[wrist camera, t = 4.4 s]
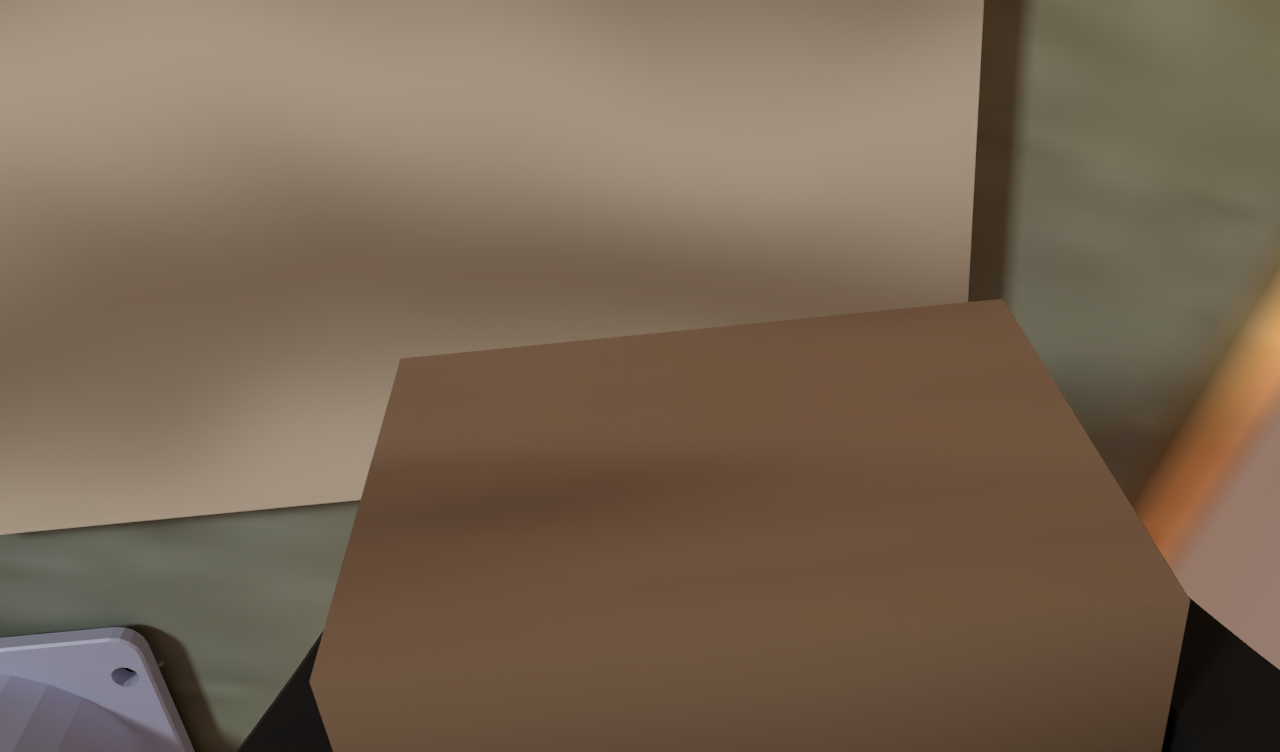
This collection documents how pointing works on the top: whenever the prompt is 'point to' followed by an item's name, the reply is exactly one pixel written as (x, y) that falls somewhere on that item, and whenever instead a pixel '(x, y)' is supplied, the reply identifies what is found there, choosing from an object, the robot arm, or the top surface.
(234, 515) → the top surface
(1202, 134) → the top surface
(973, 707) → the walnut block
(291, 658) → the top surface
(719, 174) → the beige flat square
